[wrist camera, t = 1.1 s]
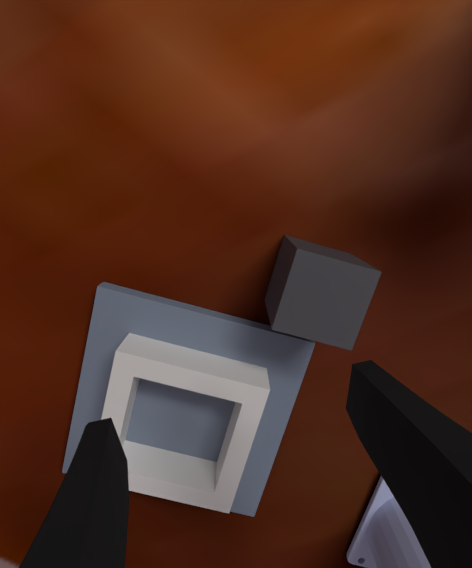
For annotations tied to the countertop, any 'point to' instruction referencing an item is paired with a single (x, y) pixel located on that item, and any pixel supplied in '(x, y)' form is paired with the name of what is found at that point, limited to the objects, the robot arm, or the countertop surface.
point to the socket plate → (188, 396)
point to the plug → (319, 293)
